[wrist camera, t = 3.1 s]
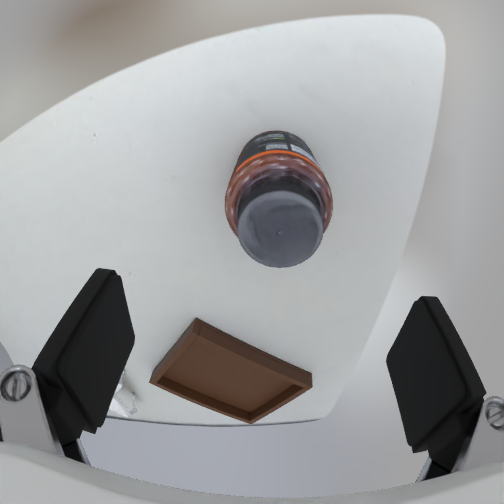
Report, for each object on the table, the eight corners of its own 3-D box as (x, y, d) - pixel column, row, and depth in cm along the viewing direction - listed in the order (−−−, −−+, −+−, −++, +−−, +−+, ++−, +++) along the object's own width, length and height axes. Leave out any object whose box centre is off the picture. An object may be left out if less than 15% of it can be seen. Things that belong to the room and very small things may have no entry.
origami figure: (76, 360, 41) (64, 384, 36) (101, 347, 38) (88, 374, 33) (131, 402, 45) (123, 425, 41) (161, 393, 42) (153, 419, 38)
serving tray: (311, 373, 37) (313, 387, 35) (252, 412, 43) (251, 424, 41) (196, 317, 33) (191, 331, 31) (153, 370, 39) (149, 382, 37)
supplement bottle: (265, 212, 26) (258, 302, 16) (223, 154, 23) (187, 215, 14) (327, 177, 24) (363, 252, 14) (289, 114, 21) (302, 144, 12)
